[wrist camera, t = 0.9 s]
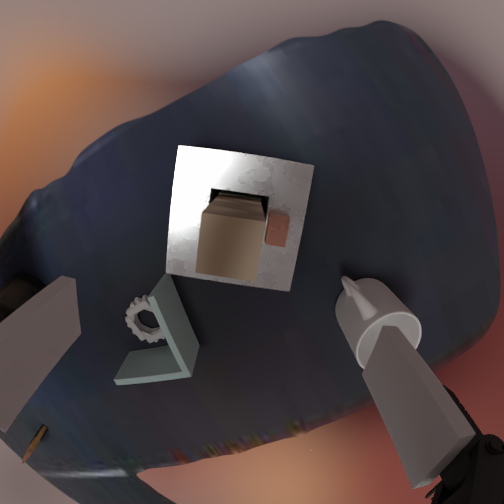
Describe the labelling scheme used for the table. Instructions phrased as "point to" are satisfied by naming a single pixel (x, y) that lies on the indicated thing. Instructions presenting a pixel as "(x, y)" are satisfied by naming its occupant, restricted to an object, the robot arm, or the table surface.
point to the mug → (372, 315)
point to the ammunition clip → (35, 442)
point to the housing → (246, 181)
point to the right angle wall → (171, 327)
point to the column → (231, 236)
